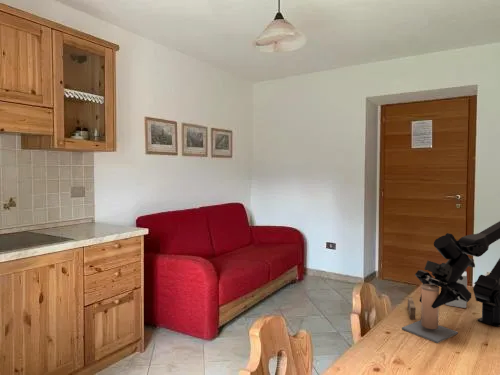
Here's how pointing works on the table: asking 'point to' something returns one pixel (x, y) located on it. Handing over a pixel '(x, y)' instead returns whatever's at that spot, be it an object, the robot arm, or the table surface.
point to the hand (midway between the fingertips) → (426, 304)
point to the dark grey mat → (430, 332)
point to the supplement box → (460, 302)
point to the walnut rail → (411, 308)
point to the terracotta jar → (429, 306)
